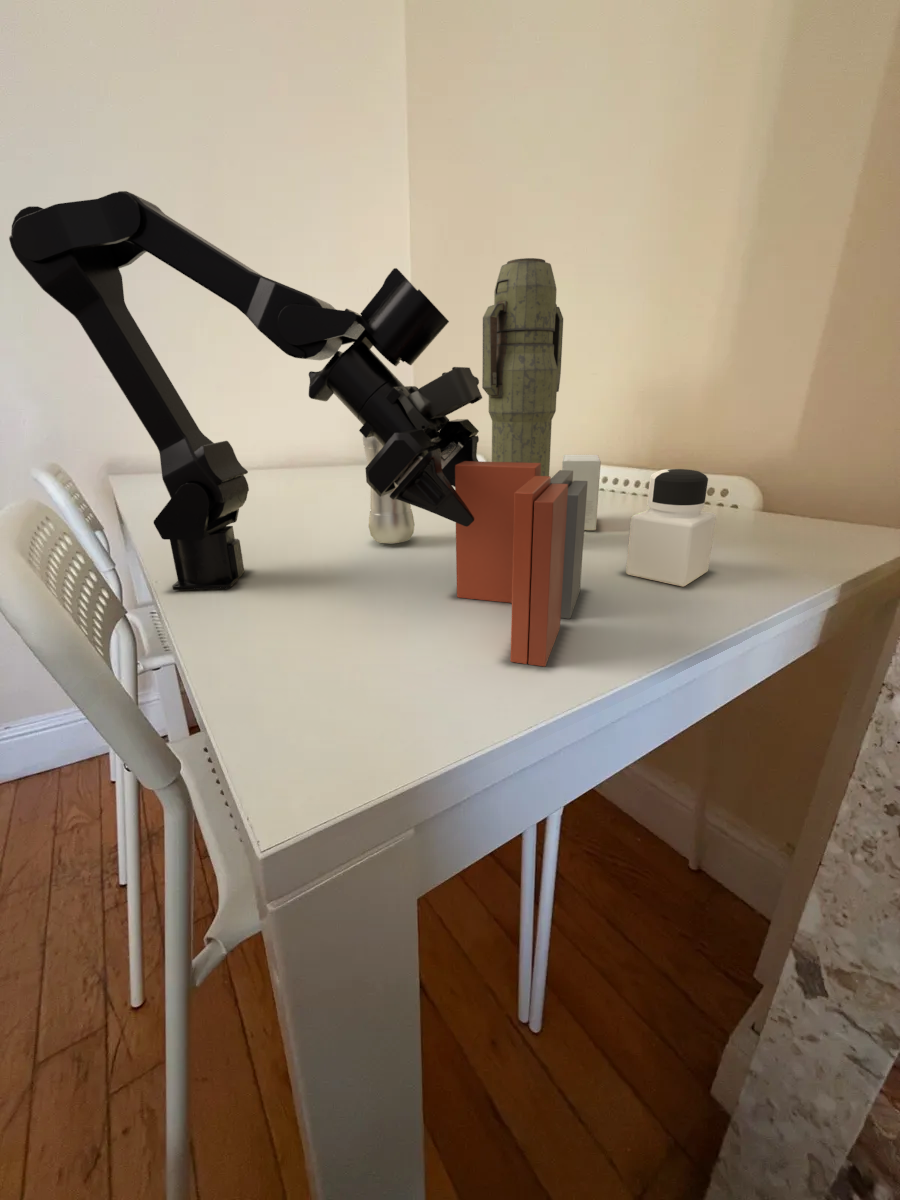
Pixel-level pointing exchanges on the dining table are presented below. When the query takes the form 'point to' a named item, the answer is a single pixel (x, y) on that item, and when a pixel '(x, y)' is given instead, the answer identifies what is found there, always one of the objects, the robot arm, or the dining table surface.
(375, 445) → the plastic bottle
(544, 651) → the rust books
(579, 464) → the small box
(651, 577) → the medicine bottle
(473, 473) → the rust book
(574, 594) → the grey books
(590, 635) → the dining table surface
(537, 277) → the olive green military canister
